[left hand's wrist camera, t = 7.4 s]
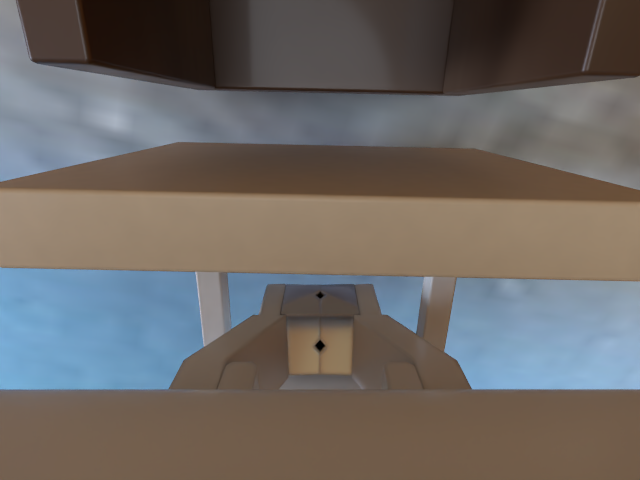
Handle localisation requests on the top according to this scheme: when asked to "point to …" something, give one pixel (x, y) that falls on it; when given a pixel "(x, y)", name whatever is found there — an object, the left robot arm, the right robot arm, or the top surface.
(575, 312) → the top surface
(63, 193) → the drawer
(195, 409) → the left robot arm
